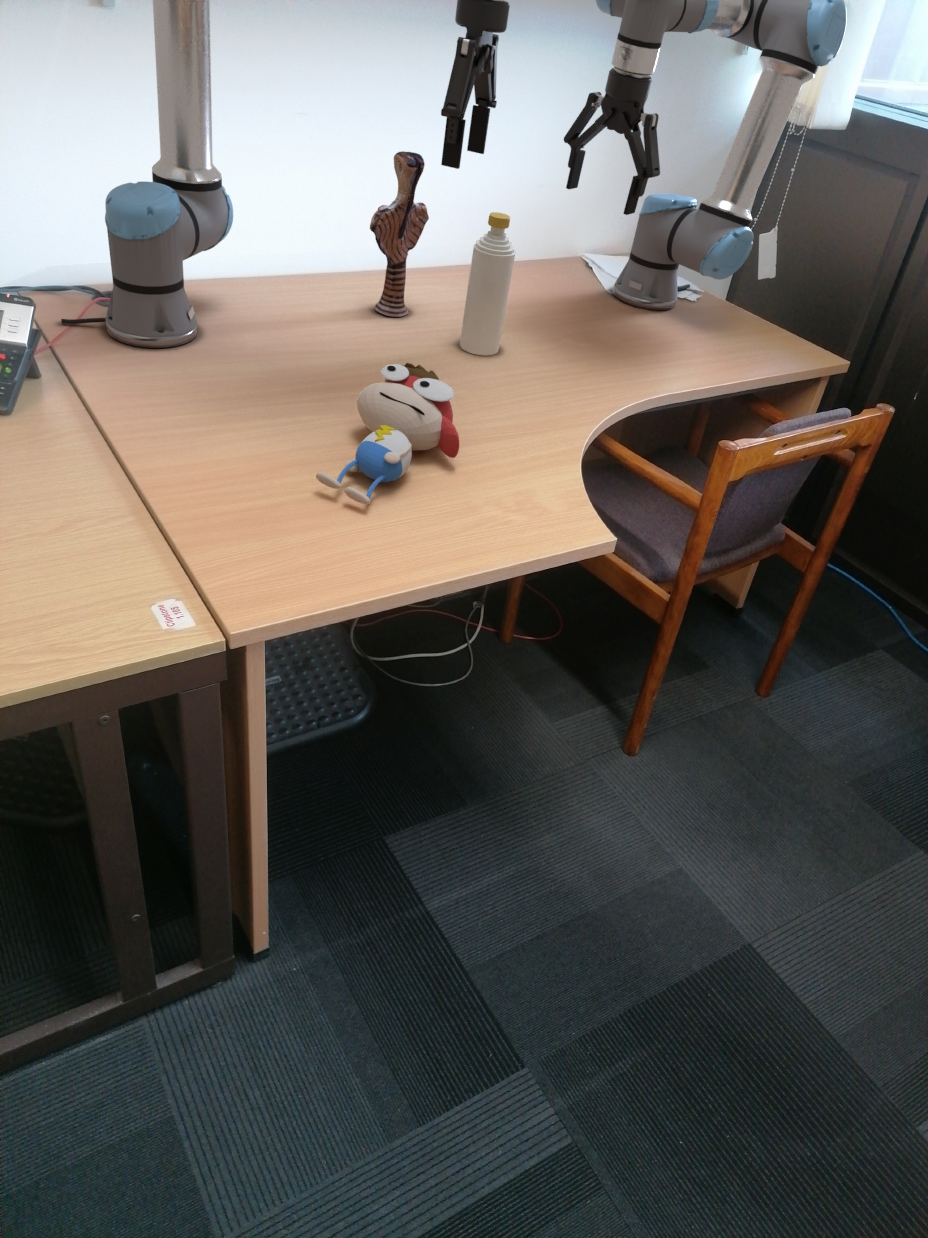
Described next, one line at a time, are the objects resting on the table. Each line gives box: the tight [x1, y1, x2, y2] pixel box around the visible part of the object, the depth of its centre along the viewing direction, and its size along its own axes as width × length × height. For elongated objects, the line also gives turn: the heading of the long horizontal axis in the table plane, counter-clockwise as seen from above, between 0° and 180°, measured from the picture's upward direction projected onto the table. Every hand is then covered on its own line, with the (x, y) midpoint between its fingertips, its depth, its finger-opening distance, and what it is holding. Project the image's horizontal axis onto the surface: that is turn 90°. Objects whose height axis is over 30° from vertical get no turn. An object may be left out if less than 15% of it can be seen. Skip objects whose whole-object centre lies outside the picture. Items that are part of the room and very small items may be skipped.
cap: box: [487, 211, 511, 230], centre depth 159 cm, size 4×4×2 cm
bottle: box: [459, 226, 516, 357], centre depth 166 cm, size 8×8×24 cm
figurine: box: [369, 150, 430, 318], centre depth 173 cm, size 15×8×30 cm, turn 144°
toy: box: [315, 362, 460, 505], centre depth 132 cm, size 18×10×30 cm
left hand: (463, 159), depth 139 cm, fingers open, 13 cm apart
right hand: (599, 200), depth 167 cm, fingers open, 13 cm apart
